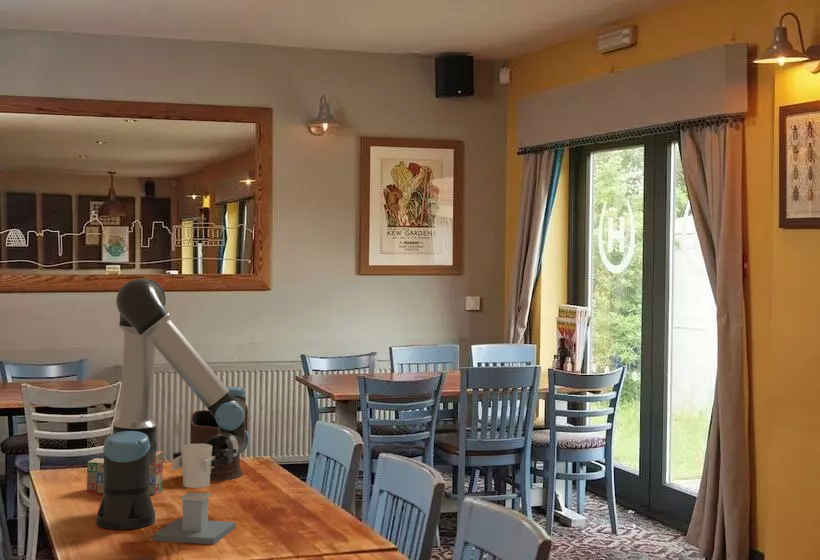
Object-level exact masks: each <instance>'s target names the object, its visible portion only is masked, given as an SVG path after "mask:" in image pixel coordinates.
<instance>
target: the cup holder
mask: <svg viewBox="0 0 820 560" xmlns="http://www.w3.org/2000/svg"><path fill="white" fill-rule="evenodd" d="M248 408H249V407H248V405H247V404H246V406H245V430H246V431H247V432H248V426H249V425H248V424H249V423H248V422H249V421H248V420H249V419H248V418H249V416H248V415H249V409H248ZM218 434H219V425H218V424H217V422H216V420H215V417H214V416H213V415H212V414H211V413H210V411H209V410H208V409H207V410H206V409H204V410H196V411H194V412H193V413H192V414H191V417H190V441H189V442H190V443H189V444H205V443H206V441H207V440H209V439H210V438H212V437H214V436H216V435H218ZM240 456H241V453H240V454H239V455H237V459H235V460H233V461H232V462H231V463H230V464H229V465H228V466H224V464H221V466H215V467H214V468H212V469H211V474H210V481H215V482H227V481H226V480H228V481H233V480H232V479H234V480H238V479H240V478H239V477H241V476H242V477H243V476H244V473H243V471H242V469H241V464H240V460H241V459H240ZM242 477H241V478H242ZM237 478H238V479H237Z"/></svg>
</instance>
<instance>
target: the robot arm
mask: <svg viewBox="0 0 820 560" xmlns="http://www.w3.org/2000/svg"><path fill="white" fill-rule="evenodd" d="M165 306H166V295H165V291H164V289H163V288H162V286H161V285H160V284H159V283H158V282H156V281H154V279H153V280H152V279H150V278H144V277H143V278H137V279H133V280H129V281H127V282H126V283H124V284H123V286H121V287H120V289H119V290H118V291H117V295H116V307H117V310H118V312H119V325H118V327H119V328H120V329H121V330H122V331H123V333H124V335H123V349H122V350H123V351H122V352H123V354H122V355H123V356H122V366H121V367H122V370H121V383H120V384H121V386H120V398H119V399H120V400H119V402H120V403H119V418H118V419H117V420H116V421H115V422H113V423H112V424H113V425H112V433H111V434H109V435H108V436H106V438H105V439H104V442H103V444H104V445H103V447H102V448H103V449H102V451H103V459H104V493H103V496H102V498H101V502H100V503H99V508H98V510H97V513H96V525H97V526H98V527H100V528H103V529H108V530H109V529H110V530H132V529H139V528H145V527H147V526H150V525H152V524H154V523H155V522H156V511H155V508H154V507H155V506H154V504H153V501H152V498H151V495H149V465H150V464H151V463H152V461H153V460H154V458H155V455H156V451H158V450H157V449H158V445H157V441H156V433H157V424H156V422H155V421H154V420H153V419H152V407H153V393H154V392H153V391H154V388H153V387H154V377H155V376H154V374H155V360H156V358H155V355H156V350H158V352H159V353H160V354H161V356H162V357H163V358H164V359H165V360H166V361H167V363H169V365H170V366H171V368H173V369H174V371H175V372H176V373H177V374H178V376H179V377H180V378H181V379H182V380H183V381H184V383H185V384H186V385H187V386H188V388H189V389H190V390H191V391H192V392H193V393H194V394H195V396H196V397H197V399H199V401H200V402H201V403H202V404H203V405H204V406H205V407H206V408H207V411H210V413H211V414H212V415H213V416H214V417H215V420H216V422H217V424H218V425H219V434H218V435H216V436H214V437H212V438H210V439H209V440H207V441H206V443H205V444H209V445H212V457H210V458H208V459H206V460H204V472H207V471H209V470H210V469H212V468H214V467H215V466H221V464H224V466H228V465H229V464H230V463H231V462H232V461H233V460H235V459H237V455H239V454H240V455H241V454H242V453H243V452H244V451H245V450H246V449H247V448H248V446H249V444H250V440H251V439H250V434H249V433H248V432H247V431H246V430H245V406H246V405H247V404H246V400H247V398H246V389H245V388H244V387H242V386H226V385H225V384H224V382H223V381H222V380H221V379H220V378H219V377H218V375H217V374H216V373H215V372H214V370H212V369H211V366H209V365H208V364H207V362H206V361H205V360H204V358H203V357H202V356H201V355H200V354H199V353H198V351H197V350H196V349H195V348H194V346H193V345H192V344H191V343H190V342H189V341H188V339H187V338H186V337H185V336H184V335H183V333H182V332H181V331H180V329H179V328H178V327H177V326H176V324H174V322H173V321H172V320H171V313H170V311H168V309H167V308H166V307H165ZM178 469H182V461H181V450H180V451H177V452H173V454H172V471H177V470H178Z"/></svg>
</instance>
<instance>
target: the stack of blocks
mask: <svg viewBox="0 0 820 560" xmlns="http://www.w3.org/2000/svg"><path fill="white" fill-rule="evenodd" d="M163 453H164V452H163V451H161V450H160V451H158V450H157V451H156V455H155V458H154V460H153V461H152V463H151V464H150V465H149V495H150V496H156V495H158V494H159V493H160V492H162V491H163V468H164V467H163V466H164V465H163V462H164V461H163V459H164V458H163V455H164V454H163ZM86 473H87V475H86V476H87V477H86V483H87V484H86V492H87V493H98V494H104V458H101V457H100V458H97V457H96V458H92V459H90V460H89V461H87V462H86Z"/></svg>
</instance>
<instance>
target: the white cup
mask: <svg viewBox="0 0 820 560" xmlns="http://www.w3.org/2000/svg"><path fill="white" fill-rule="evenodd" d="M180 451H181V461H182V467H181V472H182V473H181V475H182V485H183V487H185V488H191V489H192V488H193V489H194V488H195V489H196V488H197V489H198V488H199V489H200V488H205V487H208V486H210V485H211V482H210V474H211V469H210V470H209V471H207V472H204V460H206V459H208V458H210V457H212V445H209V444H190V443H188V444H184V445H181V446H180Z"/></svg>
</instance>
